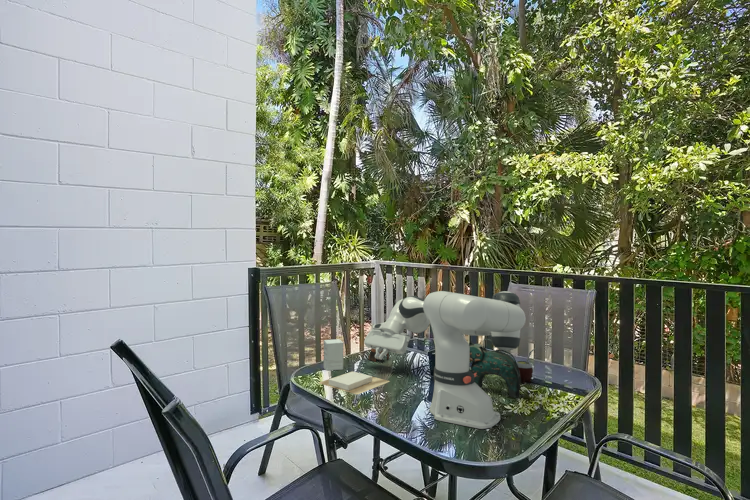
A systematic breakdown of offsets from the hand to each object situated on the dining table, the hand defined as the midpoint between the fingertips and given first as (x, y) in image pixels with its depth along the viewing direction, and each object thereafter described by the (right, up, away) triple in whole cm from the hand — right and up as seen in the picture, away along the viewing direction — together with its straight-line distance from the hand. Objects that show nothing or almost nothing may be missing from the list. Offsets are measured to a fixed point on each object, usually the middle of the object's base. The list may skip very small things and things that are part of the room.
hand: (377, 358), depth 177 cm
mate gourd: (+59, -9, -6) cm, 60 cm away
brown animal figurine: (+1, -8, +25) cm, 26 cm away
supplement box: (-20, -7, +8) cm, 22 cm away
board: (-9, -7, -12) cm, 17 cm away
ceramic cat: (+43, -8, -17) cm, 48 cm away
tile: (-6, -5, -8) cm, 11 cm away
